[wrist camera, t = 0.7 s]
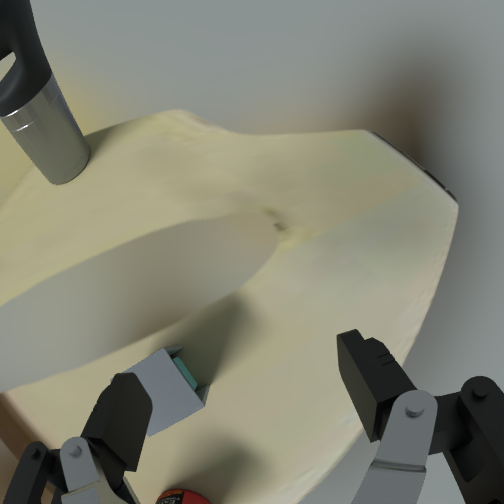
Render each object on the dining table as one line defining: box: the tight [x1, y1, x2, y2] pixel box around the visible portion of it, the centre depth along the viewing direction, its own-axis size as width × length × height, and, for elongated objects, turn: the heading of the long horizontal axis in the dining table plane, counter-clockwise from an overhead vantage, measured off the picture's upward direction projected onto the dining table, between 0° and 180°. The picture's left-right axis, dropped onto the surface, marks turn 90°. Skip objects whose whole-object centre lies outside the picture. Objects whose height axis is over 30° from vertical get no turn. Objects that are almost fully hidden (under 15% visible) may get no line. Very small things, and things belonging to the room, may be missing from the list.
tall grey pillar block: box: [110, 345, 210, 437], centre depth 24 cm, size 6×6×10 cm
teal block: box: [172, 357, 198, 390], centre depth 27 cm, size 4×4×4 cm
